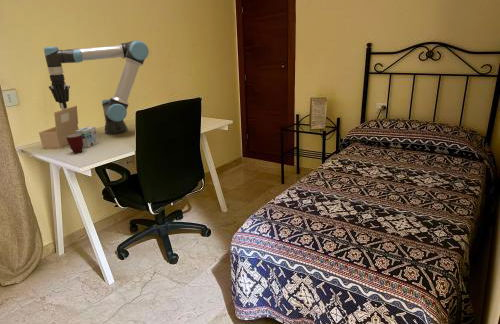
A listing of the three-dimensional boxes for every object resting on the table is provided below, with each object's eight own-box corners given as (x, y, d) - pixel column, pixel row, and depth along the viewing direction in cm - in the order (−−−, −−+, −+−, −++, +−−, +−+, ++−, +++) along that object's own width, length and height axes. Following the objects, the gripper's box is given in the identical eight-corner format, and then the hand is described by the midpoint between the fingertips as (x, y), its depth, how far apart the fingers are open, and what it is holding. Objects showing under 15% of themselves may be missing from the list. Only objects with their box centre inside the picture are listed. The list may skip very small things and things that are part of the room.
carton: (80, 139, 229) (77, 124, 225) (60, 148, 210) (56, 132, 207) (64, 139, 231) (61, 124, 227) (42, 148, 212) (38, 132, 209)
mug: (73, 149, 207) (69, 133, 203) (87, 148, 208) (84, 132, 205) (68, 154, 197) (64, 138, 194) (83, 153, 199) (79, 136, 195)
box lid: (77, 123, 225) (78, 124, 225) (56, 131, 207) (57, 132, 206) (75, 105, 221) (76, 105, 221) (54, 112, 202) (55, 112, 202)
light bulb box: (88, 148, 208) (84, 130, 205) (78, 147, 210) (74, 130, 206) (99, 142, 218) (95, 126, 214) (89, 142, 220) (86, 126, 216)
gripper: (42, 75, 202) (51, 114, 210) (61, 74, 200) (70, 114, 208) (51, 73, 209) (59, 112, 217) (70, 73, 207) (78, 112, 215)
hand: (64, 113), depth 212 cm, fingers closed
